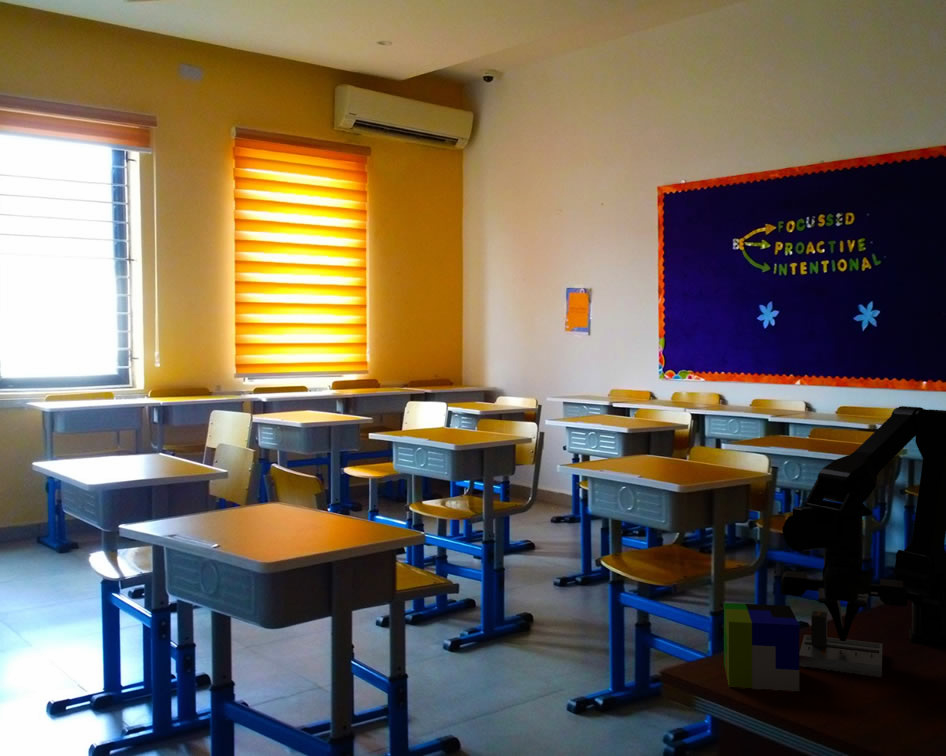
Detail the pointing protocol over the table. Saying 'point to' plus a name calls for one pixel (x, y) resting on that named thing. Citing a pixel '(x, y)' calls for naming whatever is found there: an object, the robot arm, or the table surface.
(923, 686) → the table surface
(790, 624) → the puzzle toy
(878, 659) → the console plate
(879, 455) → the robot arm
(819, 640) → the fader knob
